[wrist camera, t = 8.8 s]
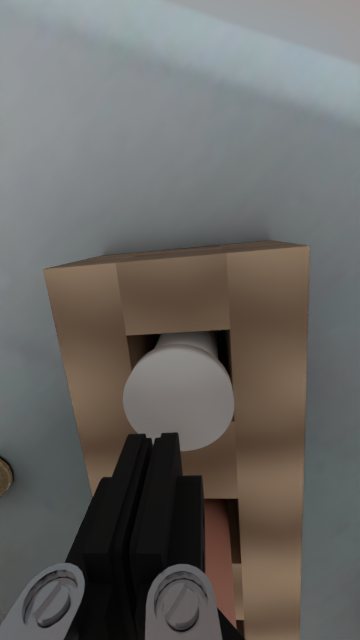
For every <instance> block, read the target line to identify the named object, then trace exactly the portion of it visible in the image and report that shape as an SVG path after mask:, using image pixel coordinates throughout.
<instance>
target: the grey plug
mask: <svg viewBox="0 0 360 640" xmlns="http://www.w3.org/2000/svg"><path fill="white" fill-rule="evenodd" d="M123 407H124V411H125V414H126V417H127V419H128V421H129V423H130V424H131V426H132V427H133V428H134V430H135V431H136V432H137V433H138V434H142V433H145V434H146V438H151V439H152V444H154V440H155V438H159V437H161V433H172V432H178V435H179V443H180V451H191V450H196V449H199V448H203V447H205V446H207V445H209V444H211V443H213V442H214V441H216V440H217V439H218V438H219V437H220V436H221V435H222V434H223V433H224V432H225V431H226V429H227V428H228V426H229V424H230V422H231V420H232V417H233V413H234V396H233V390H232V384H231V380H230V377H229V375H228V373H227V371H226V369H225V368H224V366H223V365H222V364H221V362H220V361H219V359H218V347H217V336H216V330H212V331H195V332H178V333H161V335H160V337H159V340H158V342H157V344H156V346H155V348H154V349H153V350H152V351H150V352H148V353H147V354H145V355H144V356H143V357H142V358H141V359H140V360H139V361H138V362H137V364H136V365H135V367H134V369H133V370H132V372H131V374H130V376H129V378H128V380H127V382H126V384H125V387H124V392H123Z"/></svg>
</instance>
